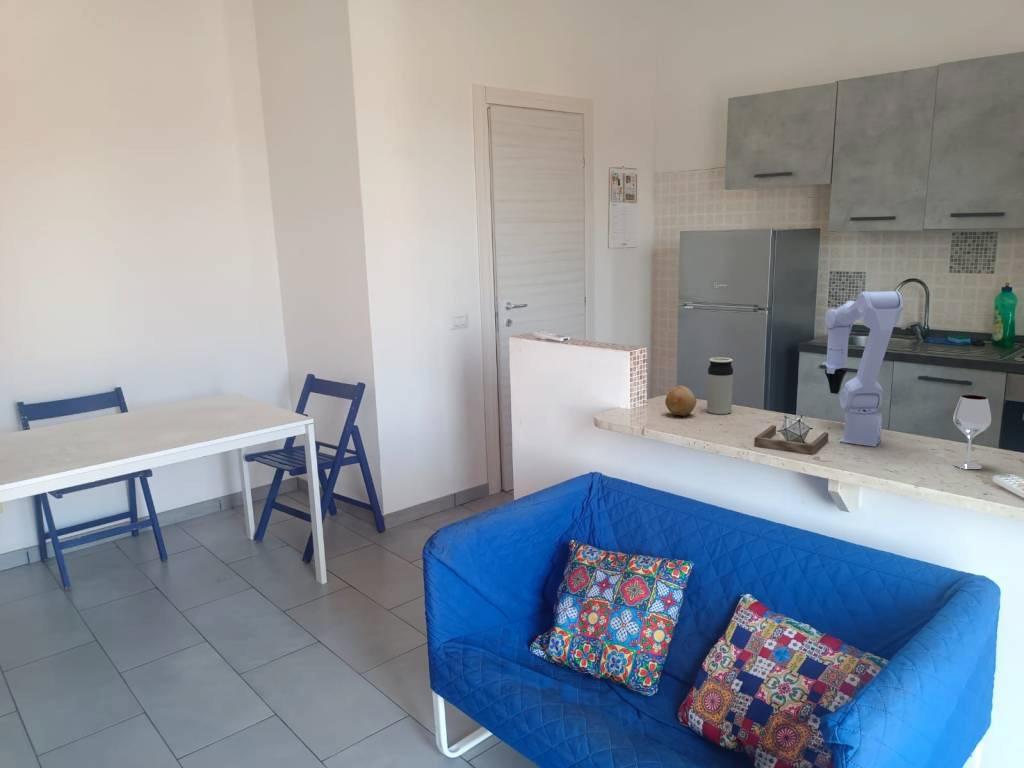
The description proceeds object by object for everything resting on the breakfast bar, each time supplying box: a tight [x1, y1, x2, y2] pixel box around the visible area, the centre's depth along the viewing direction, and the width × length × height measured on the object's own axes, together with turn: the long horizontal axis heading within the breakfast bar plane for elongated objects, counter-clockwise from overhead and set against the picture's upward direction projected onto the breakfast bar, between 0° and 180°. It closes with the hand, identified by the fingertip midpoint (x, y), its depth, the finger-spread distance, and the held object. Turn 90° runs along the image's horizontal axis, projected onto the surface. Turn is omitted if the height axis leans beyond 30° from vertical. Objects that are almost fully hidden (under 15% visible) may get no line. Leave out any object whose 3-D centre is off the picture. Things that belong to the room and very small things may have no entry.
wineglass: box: [952, 394, 992, 470], centre depth 190 cm, size 8×8×18 cm
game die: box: [776, 414, 814, 444], centre depth 215 cm, size 9×8×10 cm
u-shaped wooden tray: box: [753, 425, 830, 456], centre depth 215 cm, size 16×16×2 cm
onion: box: [664, 385, 698, 417], centre depth 249 cm, size 10×10×10 cm
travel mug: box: [706, 356, 734, 415], centre depth 252 cm, size 8×8×18 cm
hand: (834, 393), depth 231 cm, fingers closed
